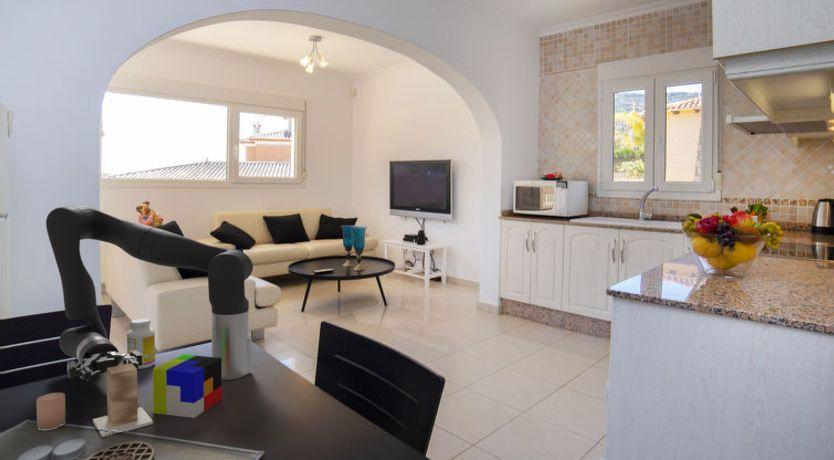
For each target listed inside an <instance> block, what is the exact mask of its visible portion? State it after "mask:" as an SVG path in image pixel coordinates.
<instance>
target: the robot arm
mask: <svg viewBox="0 0 834 460" xmlns="http://www.w3.org/2000/svg"><path fill="white" fill-rule="evenodd" d="M45 227H46V233H47V236H48V239H49V243H50V246H51V249H52V252H53V255H54V259H55V263H56V265H57V268H58V272H59V276H60V281H61V288H62V293H63V294H62V295H63V304H64V305H63V306H64V313H65V317H66V319H68V320H71V321H72V320H73V321H81V320H82V321H88V322H89V324H86V325H81V326H77V327H72V328H71V327H70V328H67V329H65V330H64V331H63V332H62V333H61V334H60V336H59V340H58V344H59V347H60V349H61V352H63V354H65V355H66V356H67V357H70V358H75V359H77V361H74V360H68V361H67V362H66V363H67V365H66V367H67V370H66V371H67V376H68V379H69V380H75V379H77V377H79V378H80V379H82V380H83V381H86V382H88V383H89V382H92V380H93V379H92V376H94V375H102V374H104V373H107V368H109V367H115V366H120V365H125V364H128V360H129V364H130V363H132V364H133V365H134V366H135V367H136V368H137V370H140V369H139V367H138V366H141V365H143V362H142V357H143V355H142V354H141V353H139V352H138V351H136V350H130V352H129V354H127V353H122V352H120V351H119V349H118V348H117V347H116V346H115V345H114V344H113V343H112V342H111V341H110V340H109V337H108V333H107V329H106V328H105V326H104V324H103V322H102V320H101V317H100V314H99V310H98V305H97V294H96V285H95V282H94V281H93V278H92V277H91V276H92V275H90V273H89V272H88V270H87V268H86V266H85V264H84V262H83V259H82V256H81V250H80V247H81V241H82V240H95V241H101V242H104V243H109V244H111V245H114V246H116V247H118V248H120V249H121V250H122V251H123V252H125V253H126V254H128V255H129V256H130V257H132V258H135V259H137V260H140V261H142V262H143V261H144V262H146V263H151V264H154V265H157V266H161V267H168V268H170V267H171V268H177V269H178V268H179V269H180V268H181V269H191V270H196V271H197V270H198V271H201V272H205V273H207V284H208V288H207V289H208V301H209V303H210V306H211V357H216V358H222V381H231V380H237V379H240V378H244V377H245V376H247V375H249V374H252V370H253V369H252V367H253V366H252V365H253V364H252V362H253V361H252V358H253V357H252V356H253V355H252V352H253V351H252V350H253V349H252V346H253V343H252V342H253V341H252V340H253V339H252V337H249V335H250V334H249V331H250V328H249V326H250V325H249V324H250V323H249V322H250V321H249V320H250V319H249V315H250V311H249V310H250V309H249V308H250V306H249V305H250V301H249V300H248V299H247V298H246V291H245V290H246V289H245V286H246V285H245V281H246V280H247V279H249V277H250V276H251V275H252V273H253V270H254V264H253V261H252V259H251V258H250V257H249V255H247V254H246V253H245V252H243V251H241V250H237V249H230V248H225V247H219V246H214V245H212V244H211V245H210V244H207V243H203V242H200V241H197V240H195V239H192V238H190V237H186V236H183V235H180V234H177V233H173V232H171V231H168V230H165V229H161V228H157V227H154V226H150V225H147V224H143V223H139V222H135V221H130V220H125V219H123V218H119V217H117V216H114V215H111V214H108V213H106V212H104V211H101V210H99V209H96V208H95V207H92V206H89V205H84V204H77V205H67V206H59V207H56V208H54V209H52V210H50V212H49V213H48V215H47V216H46V219H45Z"/></svg>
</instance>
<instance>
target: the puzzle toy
mask: <svg viewBox="0 0 834 460" xmlns="http://www.w3.org/2000/svg"><path fill="white" fill-rule="evenodd" d="M222 381H223V380H222V358H216V357H212V356H204V355H194V354H181V355H180V356H177V357H175V358H173V359H171V360H169V361H167V362H164V363H162V364H159V365H157V366H156V367H154V368H152V399H153V400H152V401H153V402H152V407H153V408H152V409H153V411H152V412H153V413H152V414H158V415H167V416H175V417H183V418H184V417H185V418H192V419H195V418H197V417H198V416H199V415H201V414H202V413H203V412H205V411H206V410H208V409H210V408H211V407H213V406H214V405H215V404H217V403H218V402H220V401H221V400H222Z"/></svg>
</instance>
